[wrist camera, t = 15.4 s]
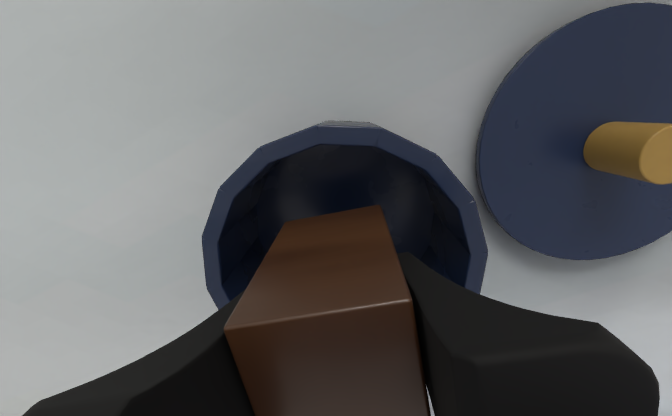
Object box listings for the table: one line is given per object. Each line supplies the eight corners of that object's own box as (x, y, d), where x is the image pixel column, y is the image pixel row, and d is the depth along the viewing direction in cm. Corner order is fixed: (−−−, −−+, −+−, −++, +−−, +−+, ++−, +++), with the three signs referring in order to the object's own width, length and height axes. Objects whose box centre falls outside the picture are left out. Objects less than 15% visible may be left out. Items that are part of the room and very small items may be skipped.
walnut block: (395, 289, 14) (436, 446, 8) (306, 303, 15) (270, 464, 8) (380, 203, 13) (412, 298, 6) (284, 221, 14) (220, 328, 7)
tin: (386, 331, 20) (400, 415, 15) (222, 262, 19) (170, 324, 14) (481, 175, 17) (546, 207, 12) (291, 83, 16) (259, 68, 11)
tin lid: (611, 283, 19) (684, 331, 15) (428, 198, 18) (453, 225, 14) (780, 81, 15) (940, 70, 11) (565, -40, 14) (654, -102, 10)
